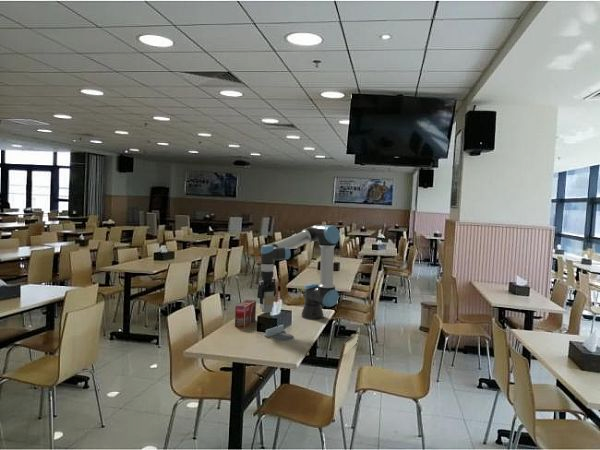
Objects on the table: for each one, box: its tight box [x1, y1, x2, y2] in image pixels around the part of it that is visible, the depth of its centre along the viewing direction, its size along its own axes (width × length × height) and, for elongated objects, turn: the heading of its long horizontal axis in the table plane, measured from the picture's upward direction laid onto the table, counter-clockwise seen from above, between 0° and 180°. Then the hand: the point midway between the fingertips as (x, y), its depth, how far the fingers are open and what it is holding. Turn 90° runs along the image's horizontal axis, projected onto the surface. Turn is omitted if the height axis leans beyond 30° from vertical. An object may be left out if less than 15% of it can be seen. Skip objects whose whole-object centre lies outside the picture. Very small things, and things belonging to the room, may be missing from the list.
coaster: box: [272, 332, 294, 341], centre depth 274 cm, size 12×12×1 cm
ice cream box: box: [234, 299, 257, 329], centre depth 302 cm, size 20×6×13 cm, turn 166°
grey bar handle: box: [263, 324, 286, 338], centre depth 281 cm, size 16×3×4 cm, turn 145°
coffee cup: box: [261, 286, 275, 314], centre depth 285 cm, size 9×9×15 cm
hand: (266, 307), depth 286 cm, fingers closed on coffee cup, 8 cm apart
